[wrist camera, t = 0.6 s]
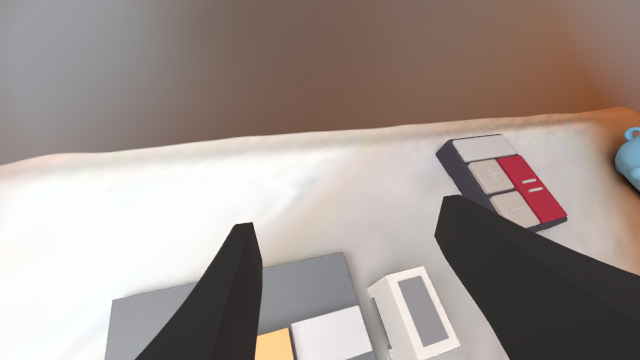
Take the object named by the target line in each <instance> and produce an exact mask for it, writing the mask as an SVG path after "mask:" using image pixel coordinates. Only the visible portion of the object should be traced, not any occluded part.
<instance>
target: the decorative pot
mask: <svg viewBox="0 0 640 360" xmlns="http://www.w3.org/2000/svg"><path fill="white" fill-rule="evenodd" d="M635 131H638V132H639V133H640V127H633V128H630V129H628V130H627V131H626V132H625V134H624V137H625V139H626V140H627V141H628V142H626V143H625V144H623V145H622V146H621V147H620V149H619V150H618V152H617V154H616V157H615V164H616V166H615V169H616V170H617V171H618V172H619V173H620V174H621V175H623V176H625V177H626V178H627V179H628V180H629V182H630V183H631V184H632V185H633V186H634V187H635V188H636V189H637V190H639V191H640V134H639V135H638V136H636V137H634V136H633V133H634V132H635Z"/></svg>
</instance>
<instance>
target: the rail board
mask: <svg viewBox="0 0 640 360" xmlns="http://www.w3.org/2000/svg"><path fill="white" fill-rule="evenodd" d="M262 270H263V288H262V298H261V307H260V316H259V325H258V334H257V336H260V335H264V334H267V333H271V332H274V331H278V330H281V329H285V328H288V331H289V337H290V342H291V348H292V353H293V359H294V360H376V357H375V354H374V351H373V348H372V345H371V342H370V338H369V335H368V332H367V329H366V326H365V323H364V319H363V316H362V313H361V310H360V307H359V304H358V300H357V297H356V294H355V291H354V288H353V285H352V281H351V278H350V275H349V272H348V269H347V266H346V262H345V259H344V256H343V253H342V252H340V253H335V254H331V255H326V256H321V257H316V258H312V259H307V260H302V261H297V262H292V263H288V264H283V265H278V266H273V267H269V268H264V269H262ZM197 283H198V282H197ZM197 283H192V284H187V285H182V286H178V287H173V288H168V289H163V290H158V291H154V292H149V293H144V294H139V295H135V296H130V297H125V298H120V299H115V300H112V308H111V315H110V323H109V330H108V338H107V346H106V353H105V360H135V358H136V357H137V356H138V355H139V354H140V353H141V352H142V351H143V350H144V348H145V347H146V346H147V345H148V344H149V343H150V342H151V341H152V340H153V338H154V337H155V336H156V335H157V334H158V333H159V332H160V330H161V329H162V328H163V327H164V326H165V324H166V323H167V322H168V321H169V320H170V318H171V317H172V316H173V315H174V313H175V312H176V311H177V310H178V308H179V307H180V306H181V305H182V303H183V302H184V301H185V299H186V298H187V297H188V295H189V294H190V292H191V291H192V290H193V288H194V287H195V286H196V284H197Z"/></svg>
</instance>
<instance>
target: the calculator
mask: <svg viewBox="0 0 640 360" xmlns="http://www.w3.org/2000/svg"><path fill="white" fill-rule="evenodd" d="M436 156H437V158H438V160H439V161H440V163H441V164H442V166H443V167H444V169H445V170H446V172H447V173H448V175H449V176H451V177H452V179H453V180H454V182H455V184H456V185H457V187H458V189H459V190H460V192H461V194H462V195H463V197H466V198H468V199H470V200H472V201H474V202H476V203H478V204H480V205H482V206H484V207H485V208H487V209H489V210H491V211H493V212H495V213H497V214H499V215H501V216H503V217H505V218H507V219H509V220H511V221H513V222H514V223H516V224H518V225H520V226H522V227H524V228H526V229H528V230H530V231H533V232H538V231H541V230H545V229H548V228H551V227H553V226H556V225H558V224H561V223H563V222H566V221H567V217H566V216H567V214H566V212H565V211H564V210H563V208H562V207H561V206H560V205H559V203H558V202H557V201H556V199H555V198H554V197H553V196H552V194H551V193H550V192H549V191H548V189H547V188H546V187H545V185H544V184H543V183H542V182H541V180H540V179H539V178H538V176H537V175H536V174H535V173H534V171H533V170H532V169H531V168H530V166H529V165H528V164H527V162H526V161H525V160H524V159H523V157H522V156H520V155H518V154H517V152H516V150H515V149H514V148H513V147H512V145H511V144H510V143H509V141H508V140H507V139H506V138H505V136H504V135H502V134H495V135H486V136H477V137H469V138H460V139H451V140H448V141H447V142H446V143H445V144H444V145H443V146H442V147H441V148H440V149H439V151H438V152H437V153H436Z"/></svg>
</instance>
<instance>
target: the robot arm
mask: <svg viewBox="0 0 640 360" xmlns="http://www.w3.org/2000/svg"><path fill="white" fill-rule="evenodd" d="M434 236H435V239H436V241H437V243H438V245H439V247H440V249H441V251H442V253H443V255H444V256H445V258H446V260H447V262H448V263H449V265H450V266H451V268H452V269H453V271H454V272H455V274H456V275H457V276H458V278H459V279H460V281H461V282H462V284H463V285H464V287H465V288H466V290H467V291H468V292H469V294H470V295H471V297H472V298H473V300H474V301H475V303H476V304H477V305H478V307H479V308H480V310H481V311H482V313H483V314H484V316H485V317H486V319H487V321H488V322H489V324H490V325H491V327H492V329H493V330H494V332H495V334H496V336H497V338H498V339H499V341H500V343H501V345H502V346H503V348H504V350H505V352H506V354H507V355H508V357H509V359H510V360H640V276H639V275H636V274H633V273H630V272H627V271H624V270H622V269H619V268H616V267H614V266H611V265H608V264H606V263H603V262H601V261H598V260H596V259H594V258H591V257H589V256H586V255H584V254H581V253H579V252H576V251H574V250H572V249H569V248H567V247H565V246H562V245H560V244H558V243H556V242H554V241H552V240H549V239H547V238H545V237H543V236H541V235H539V234H537V233H535V232H533V231H530V230H528V229H526V228H524V227H522V226H520V225H518V224H516V223H514V222H513V221H511V220H509V219H507V218H505V217H503V216H501V215H499V214H497V213H495V212H493V211H491V210H489V209H487V208H485V207H484V206H482V205H480V204H478V203H476V202H474V201H472V200H470V199H468V198H466V197H463V196H461V195H451V196H444V197H443V201H442V206H441V210H440V214H439V218H438V223H437V227H436V231H435V235H434ZM262 288H263V270H262V258H261V254H260V250H259V246H258V242H257V238H256V234H255V230H254V226H253V222H250V223H242V224H235V225H234V227H233V228H232V230H231V231H230V233H229V235H228V236H227V238H226V240H225V241H224V243H223V245H222V246H221V248H220V250H219V251H218V253H217V255H216V256H215V258H214V259H213V261H212V262H211V264H210V265H209V267H208V268H207V270H206V271H205V273H204V274H203V276H202V277H201V279H200V280H199V281H198V283H197V284H196V286H195V287H194V288H193V290H192V291H191V292H190V294H189V295H188V297H187V298H186V299H185V301H184V302H183V303H182V305H181V306H180V307H179V308H178V310H177V311H176V312H175V313H174V315H173V316H172V317H171V318H170V320H169V321H168V322H167V323H166V324H165V326H164V327H163V328H162V329H161V330H160V332H159V333H158V334H157V335H156V336H155V337H154V338H153V340H152V341H151V342H150V343H149V344H148V345H147V346H146V347H145V348H144V350H143V351H142V352H141V353H140V354H139V355H138V356H137V357H136V358H135V360H255V352H256V343H257V334H258V325H259V316H260V307H261V298H262Z"/></svg>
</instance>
